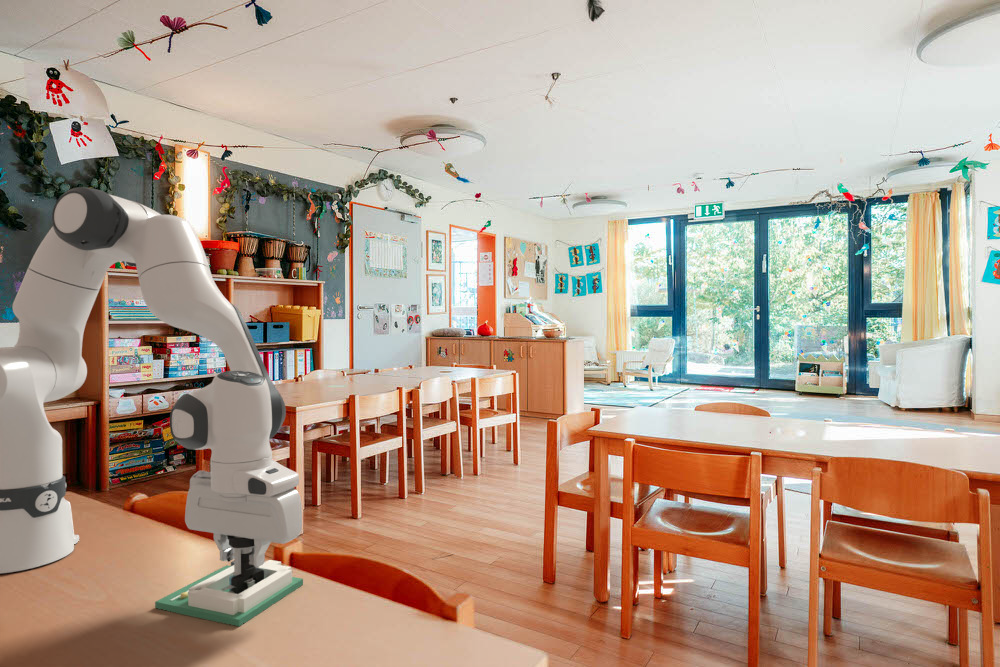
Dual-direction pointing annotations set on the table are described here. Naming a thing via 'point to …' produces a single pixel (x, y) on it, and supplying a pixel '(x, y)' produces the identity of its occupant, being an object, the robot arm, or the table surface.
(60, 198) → the robot arm
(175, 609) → the board
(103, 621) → the table surface
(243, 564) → the push button
